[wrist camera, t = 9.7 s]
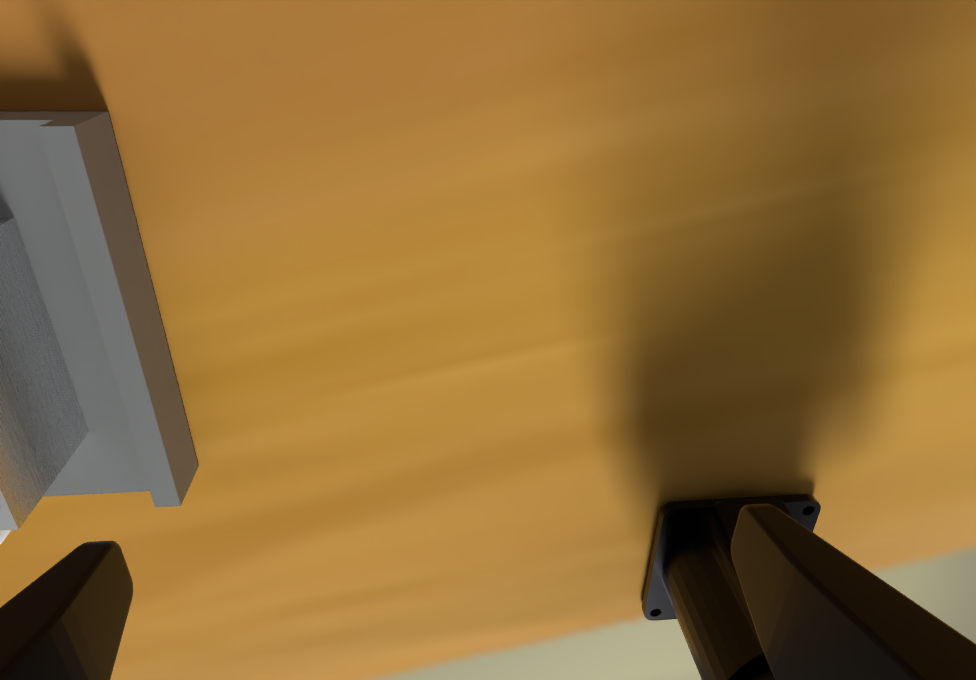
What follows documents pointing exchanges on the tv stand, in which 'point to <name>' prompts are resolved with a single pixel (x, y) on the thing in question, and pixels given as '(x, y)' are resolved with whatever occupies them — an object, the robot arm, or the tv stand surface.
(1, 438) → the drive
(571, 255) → the tv stand surface
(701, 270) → the tv stand surface
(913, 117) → the tv stand surface
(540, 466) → the tv stand surface
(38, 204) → the tray
